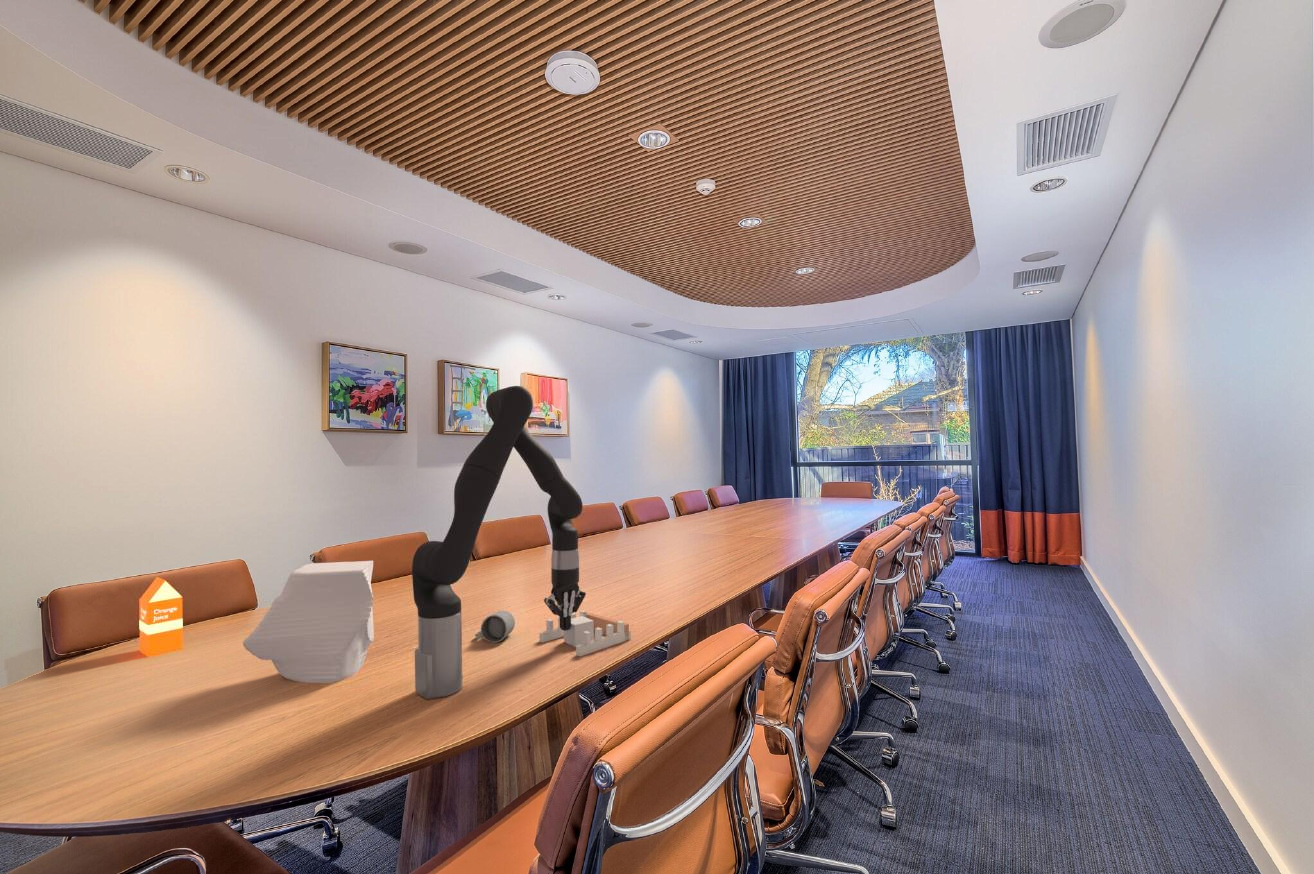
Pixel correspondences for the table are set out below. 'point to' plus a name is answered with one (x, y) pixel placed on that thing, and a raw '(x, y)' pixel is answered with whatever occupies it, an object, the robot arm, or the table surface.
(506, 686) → the table surface
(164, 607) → the orange juice
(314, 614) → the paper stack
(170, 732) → the table surface
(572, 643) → the white cube
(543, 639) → the notched wall frame
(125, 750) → the table surface
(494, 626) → the ceramic mug
